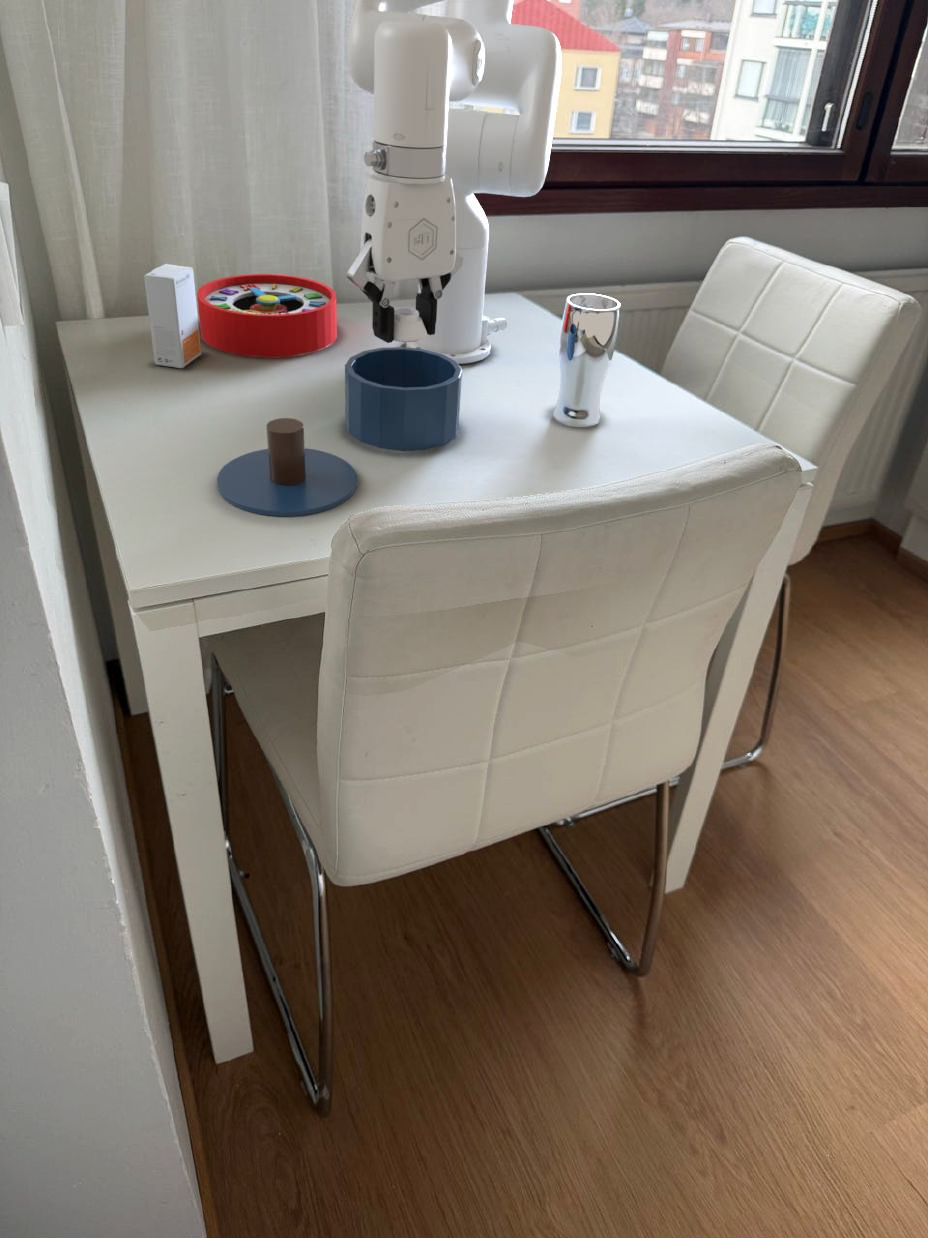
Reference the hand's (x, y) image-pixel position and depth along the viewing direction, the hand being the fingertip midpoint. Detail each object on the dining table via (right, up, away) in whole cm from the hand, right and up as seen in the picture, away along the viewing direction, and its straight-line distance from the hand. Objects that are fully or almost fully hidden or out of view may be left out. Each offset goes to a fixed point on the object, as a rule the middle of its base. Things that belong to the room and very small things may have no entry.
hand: (404, 333), depth 106 cm
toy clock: (-22, +10, +32) cm, 40 cm away
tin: (-1, -10, +7) cm, 12 cm away
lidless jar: (0, -1, 0) cm, 1 cm away
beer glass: (+21, -7, +14) cm, 26 cm away
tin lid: (-12, -18, -7) cm, 23 cm away
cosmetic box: (-33, +3, +21) cm, 39 cm away
